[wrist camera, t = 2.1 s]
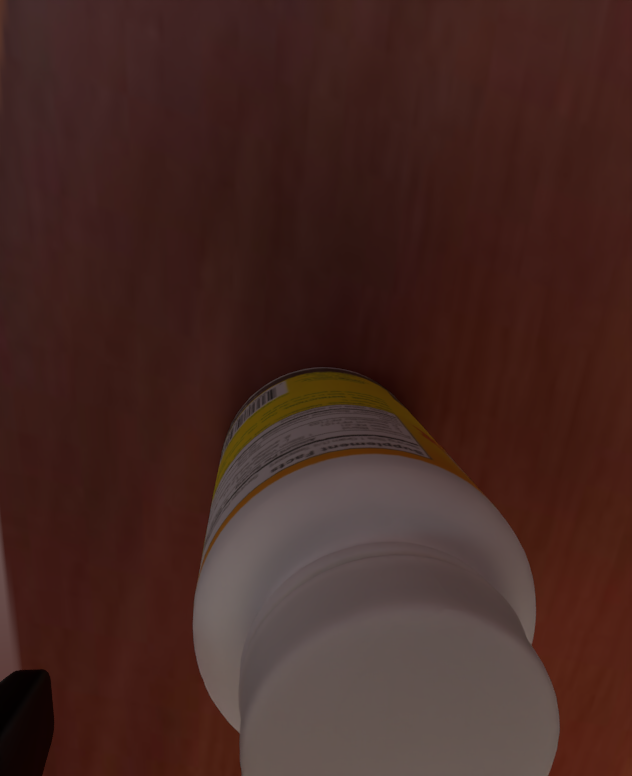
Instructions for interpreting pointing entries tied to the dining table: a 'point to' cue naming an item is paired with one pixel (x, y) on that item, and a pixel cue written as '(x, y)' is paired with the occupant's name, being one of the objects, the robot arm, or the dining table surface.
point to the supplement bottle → (364, 596)
